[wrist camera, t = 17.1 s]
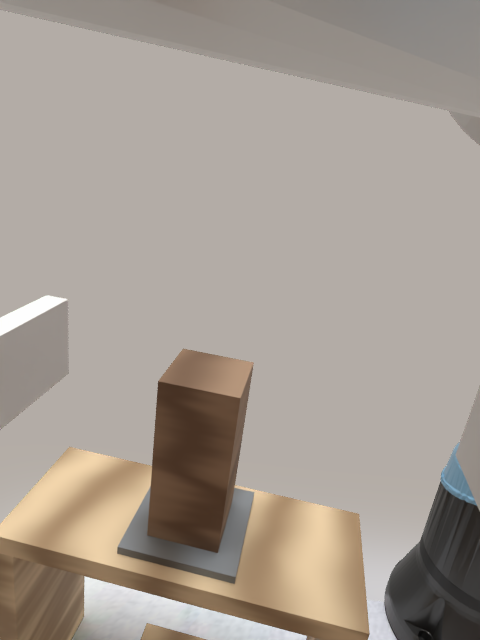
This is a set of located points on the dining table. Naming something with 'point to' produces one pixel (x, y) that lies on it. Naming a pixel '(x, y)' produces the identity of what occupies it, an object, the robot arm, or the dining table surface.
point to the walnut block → (197, 447)
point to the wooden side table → (175, 556)
